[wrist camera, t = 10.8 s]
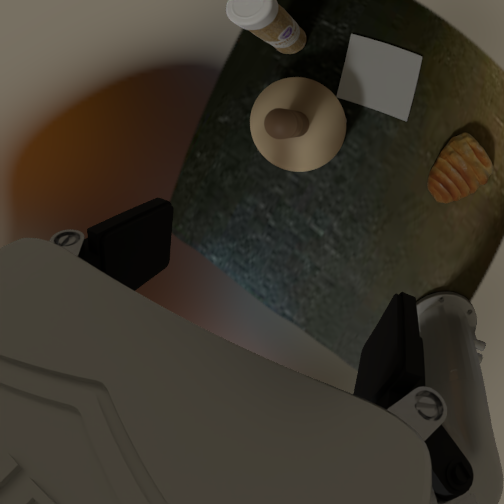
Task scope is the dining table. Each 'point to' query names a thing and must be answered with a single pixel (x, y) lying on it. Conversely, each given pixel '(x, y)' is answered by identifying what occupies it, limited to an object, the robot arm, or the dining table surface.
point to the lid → (297, 124)
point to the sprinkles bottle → (268, 23)
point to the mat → (379, 76)
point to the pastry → (459, 169)
